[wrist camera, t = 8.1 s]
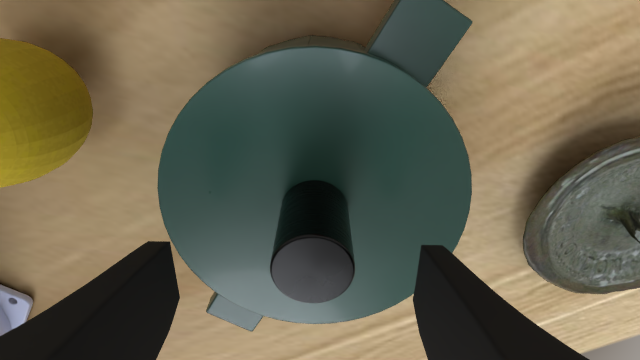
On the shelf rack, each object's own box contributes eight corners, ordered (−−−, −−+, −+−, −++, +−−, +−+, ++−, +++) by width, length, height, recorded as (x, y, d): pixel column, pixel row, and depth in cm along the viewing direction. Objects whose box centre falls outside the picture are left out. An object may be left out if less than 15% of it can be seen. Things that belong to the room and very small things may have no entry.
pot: (167, 210, 22) (112, 287, 16) (306, -73, 16) (297, -109, 10) (324, 285, 24) (325, 376, 19) (497, 60, 18) (576, 91, 13)
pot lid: (127, 236, 16) (58, 322, 12) (249, -32, 12) (209, -45, 8) (357, 339, 18) (367, 440, 14) (526, 148, 14) (610, 212, 10)
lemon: (130, 54, 18) (6, 93, 11) (115, 156, 21) (5, 244, 13) (6, 11, 18) (-212, 24, 10) (5, 122, 20) (-175, 196, 13)
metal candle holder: (664, 82, 20) (745, 84, 16) (752, 234, 21) (852, 280, 17) (477, 187, 23) (497, 216, 19) (561, 315, 25) (600, 373, 20)
